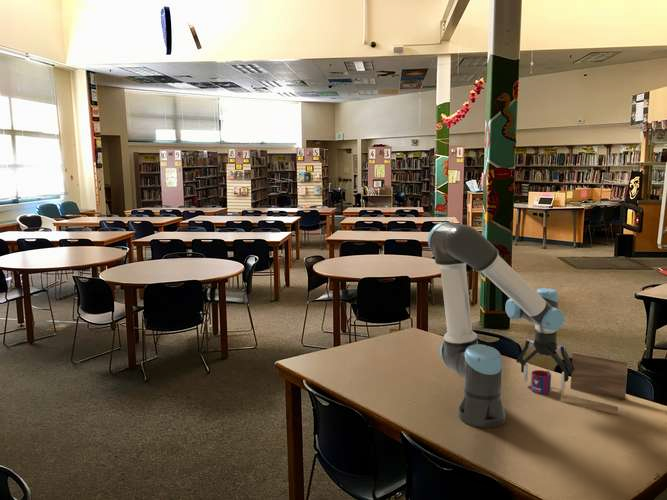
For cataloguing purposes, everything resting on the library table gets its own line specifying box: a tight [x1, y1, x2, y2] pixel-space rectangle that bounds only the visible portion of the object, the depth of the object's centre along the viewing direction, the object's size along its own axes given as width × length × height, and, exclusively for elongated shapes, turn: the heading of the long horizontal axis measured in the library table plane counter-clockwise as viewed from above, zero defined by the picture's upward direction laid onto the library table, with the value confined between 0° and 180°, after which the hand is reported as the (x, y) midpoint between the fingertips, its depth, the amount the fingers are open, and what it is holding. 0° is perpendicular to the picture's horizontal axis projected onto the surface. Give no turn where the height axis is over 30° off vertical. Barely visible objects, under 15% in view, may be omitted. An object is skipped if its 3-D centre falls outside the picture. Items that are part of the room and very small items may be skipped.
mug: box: [530, 369, 552, 395], centre depth 195 cm, size 7×10×7 cm
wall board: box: [570, 351, 629, 401], centre depth 191 cm, size 3×18×14 cm, turn 53°
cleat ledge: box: [560, 393, 619, 416], centre depth 180 cm, size 1×18×2 cm, turn 53°
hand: (543, 385), depth 196 cm, fingers open, 13 cm apart
